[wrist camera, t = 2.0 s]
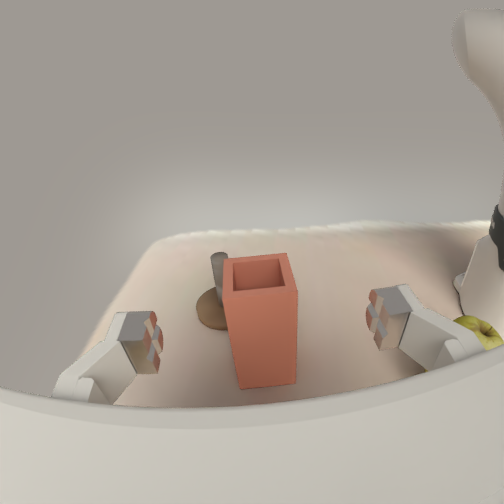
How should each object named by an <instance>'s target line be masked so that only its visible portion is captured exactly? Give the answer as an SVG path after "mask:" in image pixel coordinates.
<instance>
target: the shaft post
mask: <svg viewBox="0 0 504 504" xmlns="http://www.w3.org/2000/svg"><path fill="white" fill-rule="evenodd" d="M224 259H228V255H227V254H226V253H224V252H217V253H214V254H213V255H212V256H211V263H212V269H213V274H214V280H215V285H216V287H214V288H212V289H210V290H208V291H206V292H205V293H204V294H203V295H202V296H201V297H200V298H199V300H198V302H197V305H196V309H197V313H198V317H199V319H200V321H201V322H202V323H203V324H204V325H206V326H207V327H209V328H212V329H216V330H228V327H227V322H226V316H225V311H224V306H223V300H222V292H223V264H224Z"/></svg>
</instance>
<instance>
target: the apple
mask: <svg viewBox="0 0 504 504" xmlns="http://www.w3.org/2000/svg"><path fill="white" fill-rule="evenodd" d="M453 321H454V322H456V323H458V324H460V325H461V326H463V327H465V328H467V329H469V330H471V331H473V332H474V333H475V335H476V336H477V338H478V339H479V341H480V342H481V343H482V345H483V346H484V348H485V349H486V351H488V350H490V349H492V348H495V347H497V346H500V345H502V344H504V341H503V339H502V338H501V336H500V335H499V333H498V332H497V331H496V330H495V329H494V328H493V327H492V326H491V325H490V324H489V323H487V322H485V321H482V320H480V319H478V318H476V317H474V316H470V315H466V316H461V317H459V318H457V319H455V320H453ZM425 372H428V370H426V369H425Z"/></svg>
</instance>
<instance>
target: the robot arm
mask: <svg viewBox="0 0 504 504" xmlns="http://www.w3.org/2000/svg"><path fill="white" fill-rule="evenodd" d="M452 47H453V51H454V55H455V58H456V60H457V62H458V64H459V66H460V68H461V69H462V71H463V72H464V74H465V75H466V77H467V78H468V79H469V80H470V81H471V82H472V83H473V84H474V85H475V86H476V87H477V88H478V89H479V90H480V91H481V93H482V94H483V95H484V96H485V98H486V99H487V101H488V102H489V103H490V105H491V107H492V109H493V111H494V113H495V115H496V117H497V119H498V122H499V124H500V128H501V131H502V136H503V141H504V10H500V9H466V10H463V11H462V12H461V13H460V14H459V15H458V17H457V18H456V20H455V22H454V25H453V28H452ZM453 284H454V286H455V288H456V289H457V291H458V293H459V295H460V302H461V307H462V310H463V312H464V314H465V316H466V315H470V316H474V317H476V318H478V319H480V320H482V321H485V322H487V323H489V324H490V325H491V326H492V327H493V328H494V329H495V330H496V331H497V332H498V333H499V335H500V336H501V338H502V339H503V341H504V173H503V181H502V189H501V194H500V200H499V204H498V205H496V207H495V210H494V214H493V215H492V218H491V225H490V229H489V235H487V236H485V237H483V238H481V239H479V240H478V241H477V243H476V245H475V248H474V251H473V254H472V257H471V260H470V263H469V265H468V268H467V271H466V272H464V273H462V274H459V275H457V276H456V277H455V280H454V282H453ZM369 300H370V301H371V303H370V304H369V306H368V307H367V310H366V321H367V325H368V328H369V330H370V331H372V332H373V333H375V335H374V340H375V342H376V345H377V347H378V349H379V351H380V350H386V349H391V348H396V347H399V349H401V350H402V351H403V352H404V353H406V354H407V355H408V356H410V357H411V358H412V359H413V360H415V361H416V362H417V363H419V364H420V365H421V366H422V367H424V368H425V369H426V370H428V372H425V373H421V374H418V375H415V376H411V377H407V378H404V379H400V380H396V381H392V382H388V383H384V384H380V385H376V386H372V387H367V388H363V389H358V390H353V391H348V392H343V393H338V394H332V395H326V396H320V397H314V398H307V399H300V400H293V401H285V402H276V403H267V404H256V405H244V406H228V407H203V408H159V407H135V406H120V405H113V403H114V402H115V401H116V400H117V399H118V397H119V396H120V395H121V394H122V393H123V392H124V390H125V389H126V388H127V387H128V386H129V384H130V383H131V382H132V381H133V380H134V379H135V377H136V376H137V374H158V370H159V365H160V358H159V356H158V355H159V354H160V353H161V352H162V349H163V335H162V331H161V328H160V327H159V326H157V325H156V322H157V317H156V315H155V312H153V311H138V312H117V313H116V314H115V315H114V318H113V320H112V323H111V325H110V327H109V330H108V332H107V335H106V337H105V340H104V341H100V342H99V343H98V344H97V345H95V346H94V347H93V348H92V349H90V350H89V351H88V352H87V353H86V354H84V355H83V356H82V357H81V358H79V359H78V360H77V361H76V362H75V363H73V364H72V365H71V366H70V367H68V368H67V369H66V370H65V371H63V372H62V373H61V374H60V376H59V379H58V381H57V383H56V386H55V388H54V391H53V393H52V396H51V397H47V396H42V395H36V394H31V393H26V392H22V391H17V390H13V389H9V388H4V387H1V386H0V504H504V344H502V345H500V346H497V347H495V348H492V349H490V350H488V351H486V349H485V348H484V346H483V345H482V343H481V342H480V341H479V339H478V338H477V336H476V335H475V333H474V332H473V331H471V330H469V329H467V328H465V327H463V326H461V325H460V324H458V323H456V322H454V321H452V320H450V319H448V318H446V317H444V316H442V315H440V314H438V313H436V312H434V311H432V310H430V309H428V308H427V309H425V308H424V307H423V305H422V304H421V302H420V301H419V300H418V298H417V297H416V296H415V294H414V293H413V291H412V290H411V289H410V287H409V286H408V285H407V284H402V285H396V286H392V287H386V288H380V289H373V290H371V292H370V295H369Z"/></svg>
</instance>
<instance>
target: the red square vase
mask: <svg viewBox="0 0 504 504" xmlns="http://www.w3.org/2000/svg"><path fill="white" fill-rule="evenodd" d="M222 300H223V306H224V311H225V316H226V322H227V327H228V332H229V337H230V343H231V348H232V353H233V358H234V363H235V368H236V373H237V377H238V382H239V387H240V389H249V388H260V387H269V386H278V385H287V384H294V383H296V354H297V305H298V291H297V287H296V284H295V280H294V277H293V274H292V270H291V267H290V263H289V260H288V257H287V253H280V254H270V255H260V256H250V257H240V258H230V259H224V264H223V292H222Z"/></svg>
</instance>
